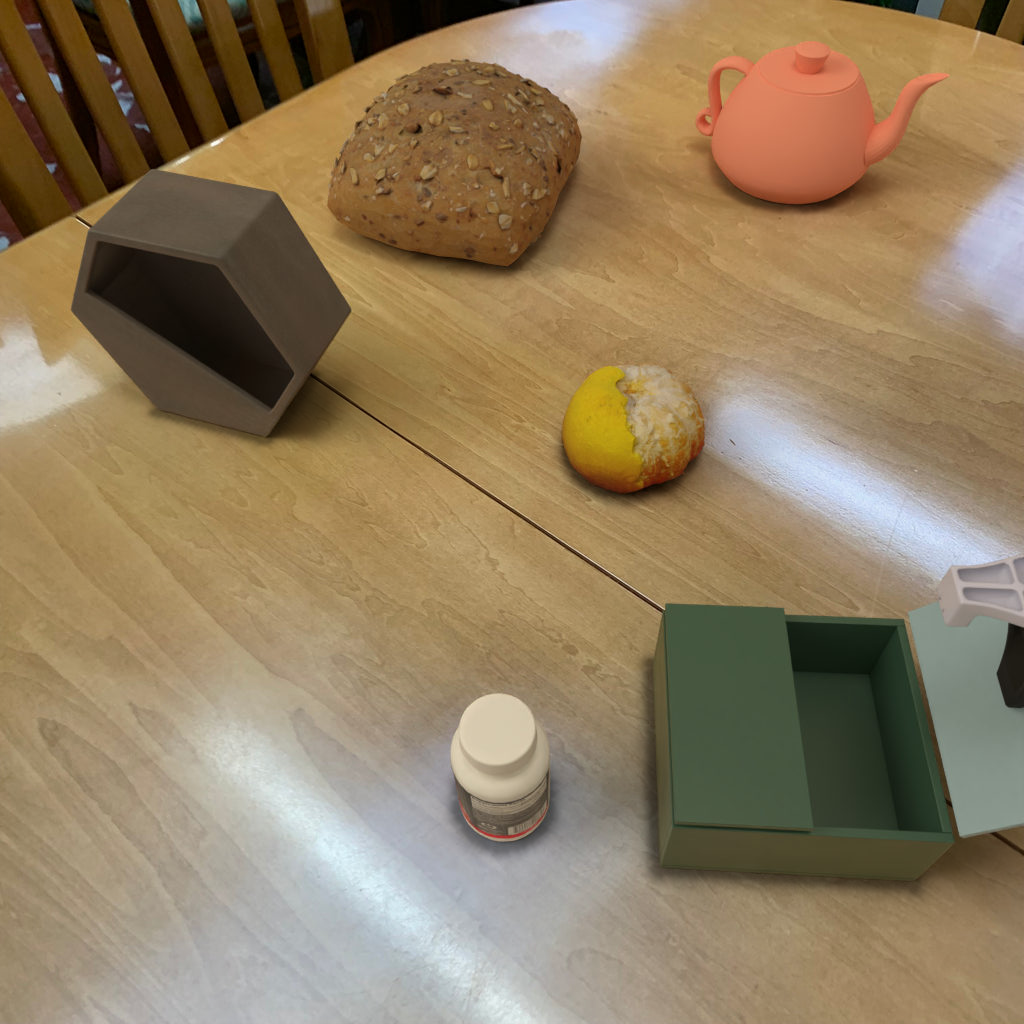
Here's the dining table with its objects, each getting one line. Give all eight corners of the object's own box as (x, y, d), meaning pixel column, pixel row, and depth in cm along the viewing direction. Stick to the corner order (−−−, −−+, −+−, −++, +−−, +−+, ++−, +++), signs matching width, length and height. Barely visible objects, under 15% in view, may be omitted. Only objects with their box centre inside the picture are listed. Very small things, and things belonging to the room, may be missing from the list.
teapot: (922, 158, 94) (966, 33, 85) (887, 243, 86) (931, 116, 76) (716, 113, 101) (734, -7, 91) (665, 188, 93) (678, 64, 83)
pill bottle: (461, 755, 56) (448, 679, 49) (549, 755, 56) (550, 679, 49) (457, 844, 53) (442, 779, 45) (550, 844, 53) (552, 778, 45)
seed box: (873, 671, 59) (908, 611, 53) (914, 881, 51) (961, 837, 45) (652, 662, 60) (664, 602, 54) (659, 867, 52) (674, 822, 46)
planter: (61, 348, 73) (99, 175, 57) (117, 288, 78) (167, 112, 61) (248, 466, 77) (332, 336, 61) (291, 403, 82) (380, 266, 66)
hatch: (907, 611, 53) (910, 614, 53) (959, 836, 45) (963, 838, 46) (1027, 567, 49) (1031, 570, 49) (1108, 805, 41) (1111, 808, 41)
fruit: (692, 518, 66) (670, 441, 61) (559, 509, 71) (528, 436, 66) (724, 409, 73) (708, 330, 67) (601, 407, 77) (575, 333, 72)
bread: (526, 294, 83) (523, 173, 74) (315, 249, 88) (287, 131, 79) (603, 151, 97) (609, 35, 87) (417, 120, 102) (404, 6, 92)
